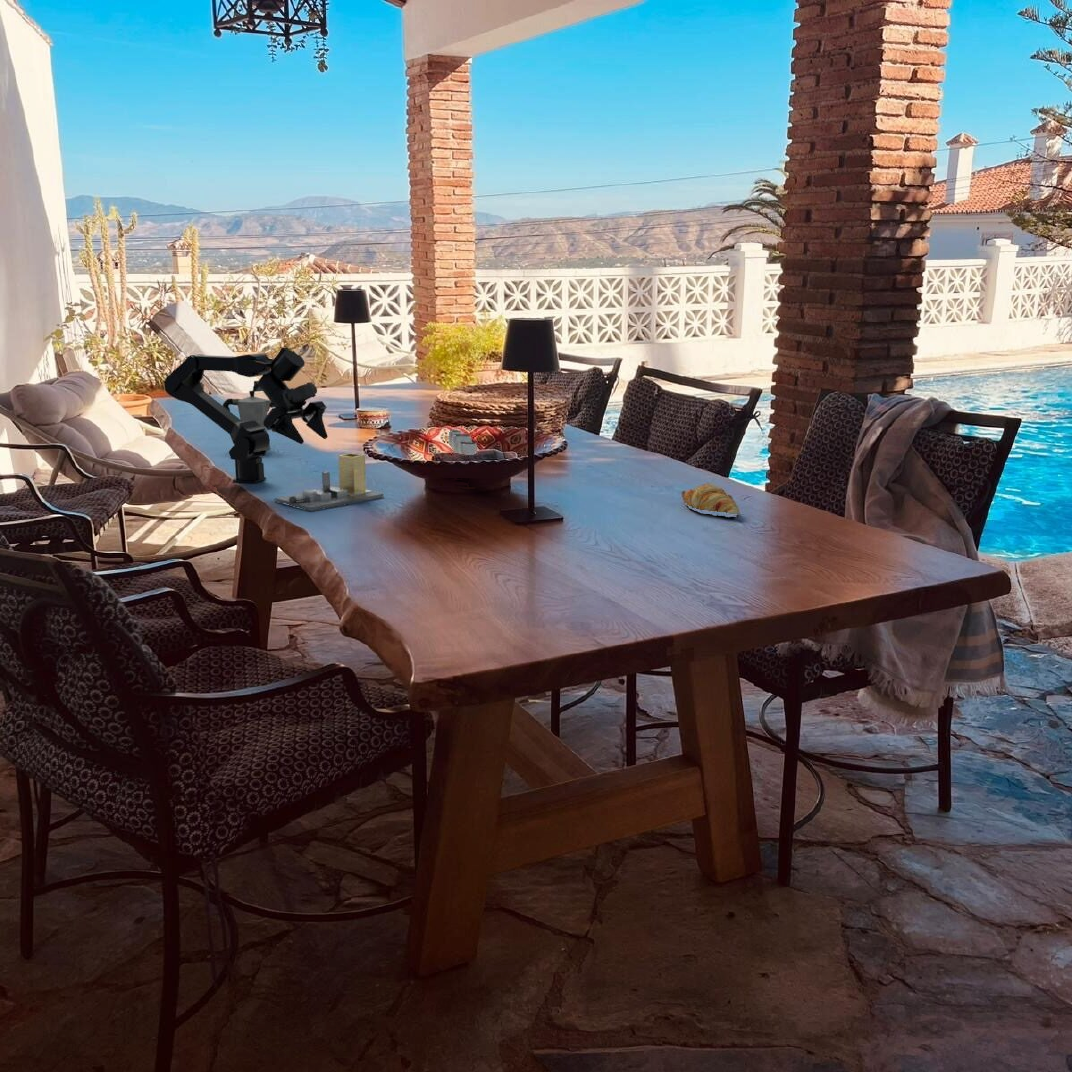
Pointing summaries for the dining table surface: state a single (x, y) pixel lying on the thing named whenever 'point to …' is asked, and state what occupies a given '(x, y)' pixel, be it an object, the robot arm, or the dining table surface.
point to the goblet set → (462, 443)
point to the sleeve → (352, 472)
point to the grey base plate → (327, 496)
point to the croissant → (710, 499)
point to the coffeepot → (251, 408)
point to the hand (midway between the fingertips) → (314, 440)
